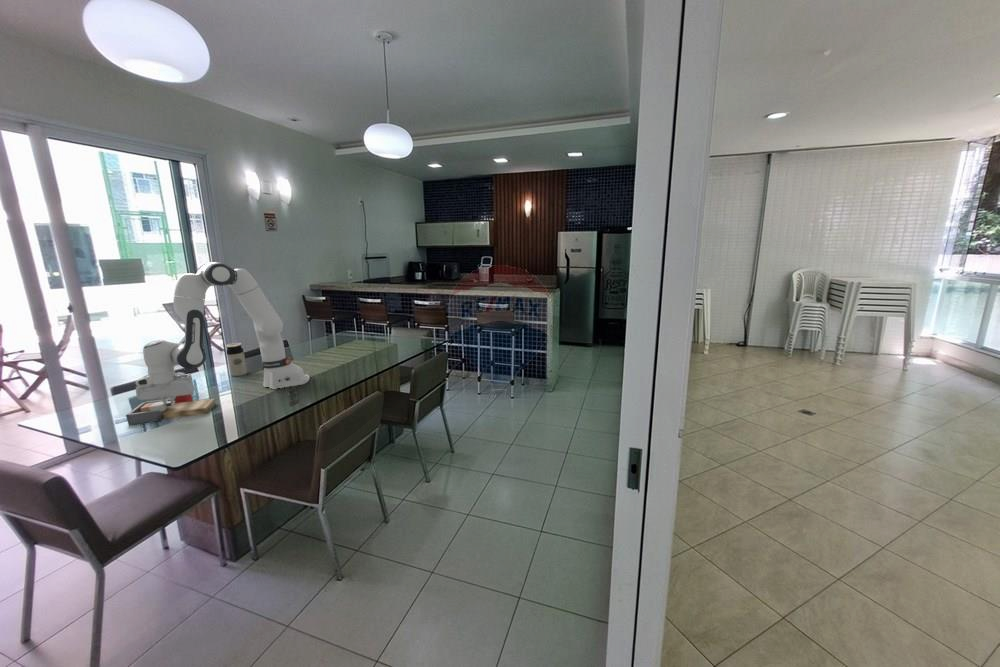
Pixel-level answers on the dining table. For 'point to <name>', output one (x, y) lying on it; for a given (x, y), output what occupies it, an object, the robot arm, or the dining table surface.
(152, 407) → the tile ivory
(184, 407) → the wooden board
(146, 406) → the tile terracotta
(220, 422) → the dining table surface
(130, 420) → the box
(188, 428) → the dining table surface
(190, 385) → the robot arm
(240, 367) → the travel mug
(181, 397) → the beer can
